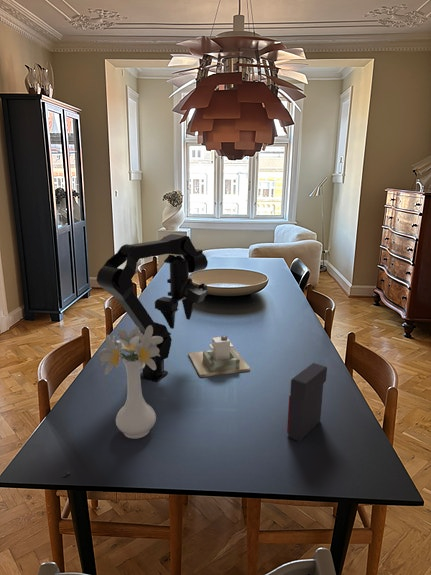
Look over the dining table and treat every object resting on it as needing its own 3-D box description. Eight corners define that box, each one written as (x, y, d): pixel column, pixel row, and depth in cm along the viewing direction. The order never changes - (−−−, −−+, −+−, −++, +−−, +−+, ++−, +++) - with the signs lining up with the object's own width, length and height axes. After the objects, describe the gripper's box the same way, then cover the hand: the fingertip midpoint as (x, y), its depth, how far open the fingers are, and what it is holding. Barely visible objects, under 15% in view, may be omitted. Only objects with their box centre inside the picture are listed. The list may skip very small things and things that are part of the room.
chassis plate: (199, 377, 124) (199, 365, 123) (188, 355, 139) (188, 344, 138) (250, 370, 128) (250, 358, 127) (233, 350, 143) (234, 339, 142)
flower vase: (169, 409, 107) (167, 318, 101) (154, 456, 90) (150, 349, 83) (120, 407, 108) (114, 316, 101) (95, 453, 90) (86, 347, 84)
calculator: (306, 415, 105) (310, 361, 101) (322, 421, 102) (327, 366, 98) (284, 436, 97) (288, 377, 93) (301, 443, 94) (305, 384, 90)
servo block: (212, 368, 128) (212, 340, 125) (208, 363, 131) (208, 335, 129) (233, 365, 130) (233, 338, 127) (229, 360, 133) (229, 333, 131)
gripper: (184, 286, 115) (185, 338, 119) (217, 272, 131) (217, 319, 135) (152, 281, 120) (154, 331, 124) (187, 268, 136) (188, 313, 140)
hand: (180, 323), depth 131 cm, fingers open, 9 cm apart
